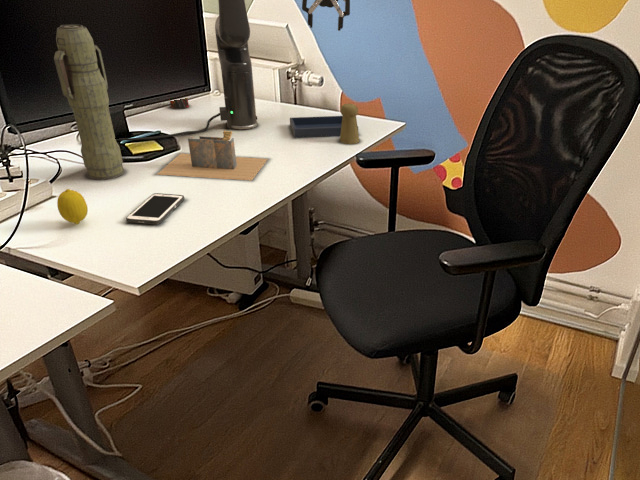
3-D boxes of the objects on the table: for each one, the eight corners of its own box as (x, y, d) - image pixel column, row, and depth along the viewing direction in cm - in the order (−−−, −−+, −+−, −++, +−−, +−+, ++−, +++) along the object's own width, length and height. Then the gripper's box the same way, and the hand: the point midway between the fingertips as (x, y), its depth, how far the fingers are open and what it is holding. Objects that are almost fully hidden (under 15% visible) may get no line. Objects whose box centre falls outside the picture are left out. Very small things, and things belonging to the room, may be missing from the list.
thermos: (74, 178, 151) (34, 27, 132) (107, 163, 160) (74, 21, 141) (104, 184, 148) (67, 31, 130) (135, 168, 158) (105, 24, 139)
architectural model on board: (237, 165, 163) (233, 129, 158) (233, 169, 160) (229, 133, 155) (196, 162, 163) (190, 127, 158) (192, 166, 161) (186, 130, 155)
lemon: (95, 218, 132) (86, 184, 128) (85, 229, 127) (75, 194, 123) (69, 218, 132) (60, 183, 127) (58, 229, 127) (48, 194, 123)
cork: (336, 138, 185) (336, 102, 179) (355, 137, 188) (354, 101, 182) (343, 144, 181) (343, 108, 175) (362, 142, 183) (362, 106, 177)
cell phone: (124, 222, 131) (124, 218, 130) (154, 196, 143) (153, 192, 142) (159, 225, 130) (158, 221, 130) (185, 198, 143) (185, 195, 142)
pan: (294, 138, 184) (294, 129, 183) (290, 125, 195) (289, 117, 193) (358, 135, 189) (358, 126, 188) (350, 123, 199) (350, 115, 198)
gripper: (303, -34, 170) (302, 28, 178) (353, -29, 173) (349, 32, 181) (302, -35, 177) (301, 25, 184) (350, -29, 180) (347, 30, 187)
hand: (325, 29), depth 183 cm, fingers open, 8 cm apart
